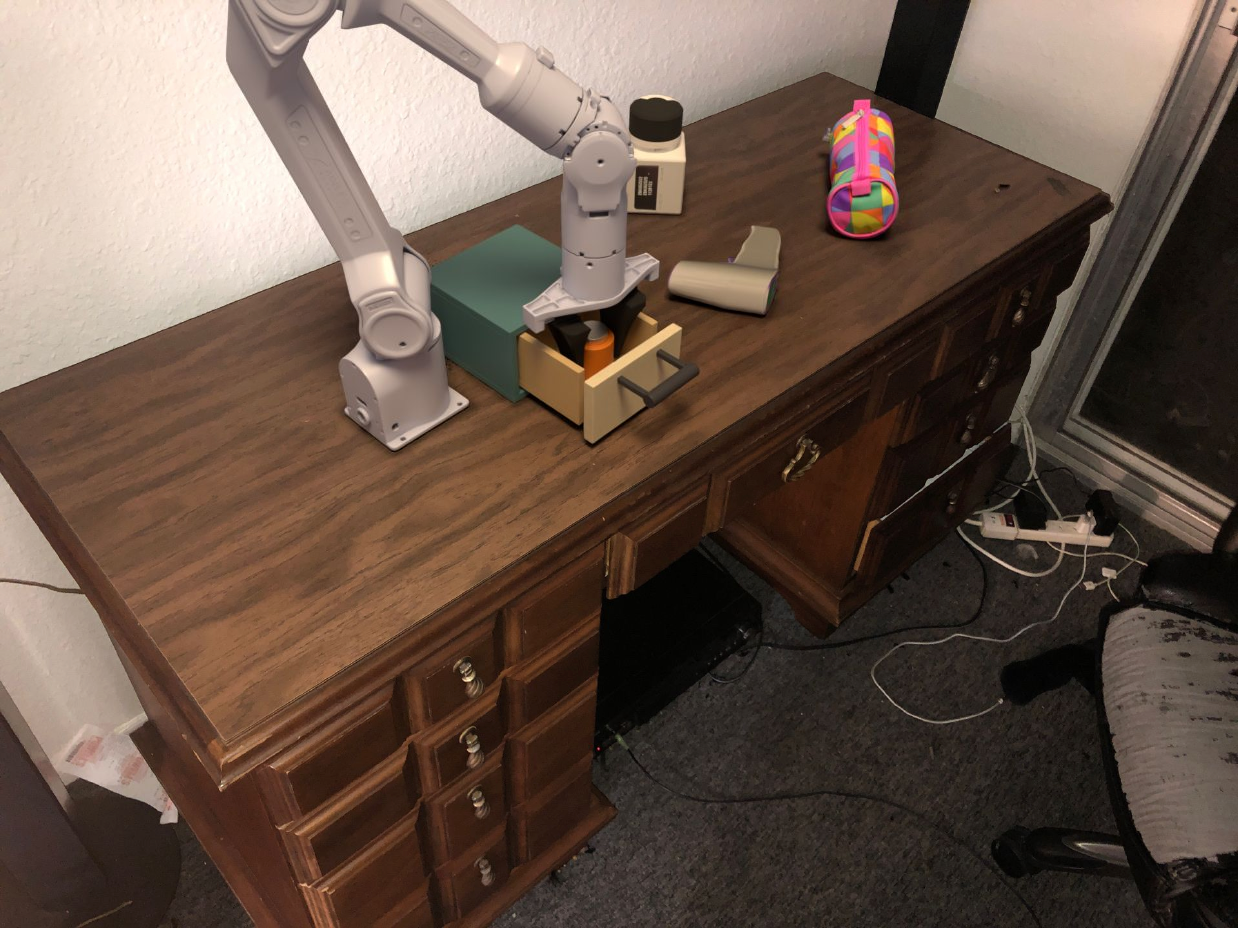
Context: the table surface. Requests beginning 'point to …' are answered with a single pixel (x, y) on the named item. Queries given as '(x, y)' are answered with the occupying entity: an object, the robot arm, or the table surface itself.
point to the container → (656, 156)
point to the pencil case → (862, 173)
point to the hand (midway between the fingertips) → (592, 361)
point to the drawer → (605, 375)
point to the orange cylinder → (598, 348)
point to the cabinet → (492, 303)
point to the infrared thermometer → (734, 275)
